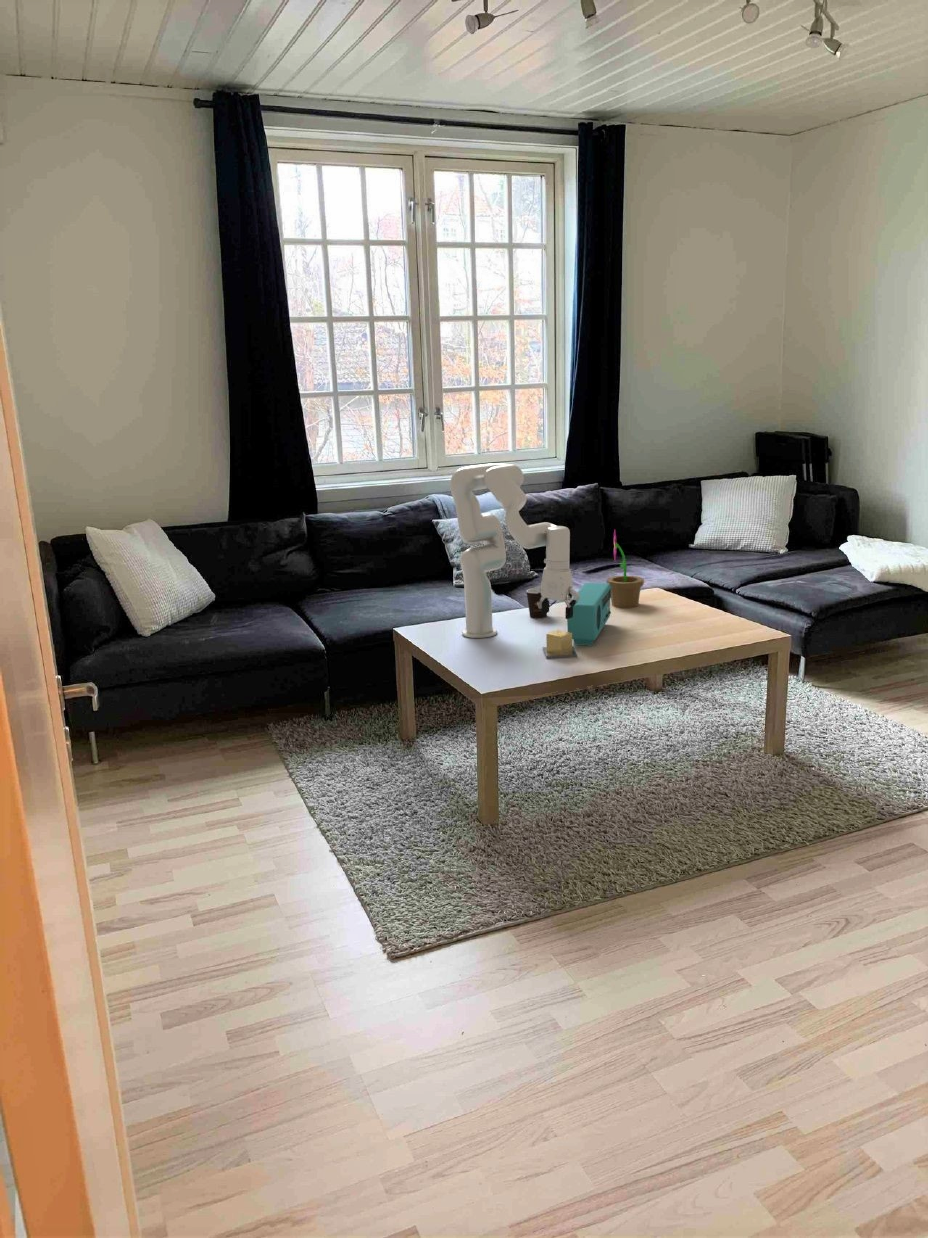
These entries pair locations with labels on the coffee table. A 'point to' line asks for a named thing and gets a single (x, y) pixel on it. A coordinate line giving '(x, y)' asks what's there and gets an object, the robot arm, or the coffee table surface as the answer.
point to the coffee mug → (535, 604)
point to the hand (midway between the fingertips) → (557, 615)
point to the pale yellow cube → (559, 641)
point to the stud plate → (554, 655)
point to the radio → (590, 613)
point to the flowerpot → (624, 585)
